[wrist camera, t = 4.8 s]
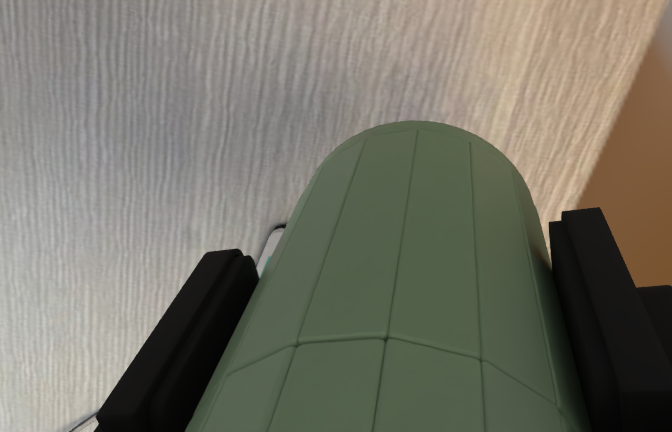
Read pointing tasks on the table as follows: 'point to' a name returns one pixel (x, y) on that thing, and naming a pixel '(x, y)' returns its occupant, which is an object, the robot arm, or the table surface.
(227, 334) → the robot arm
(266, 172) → the table surface
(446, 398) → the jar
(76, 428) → the sunglasses
